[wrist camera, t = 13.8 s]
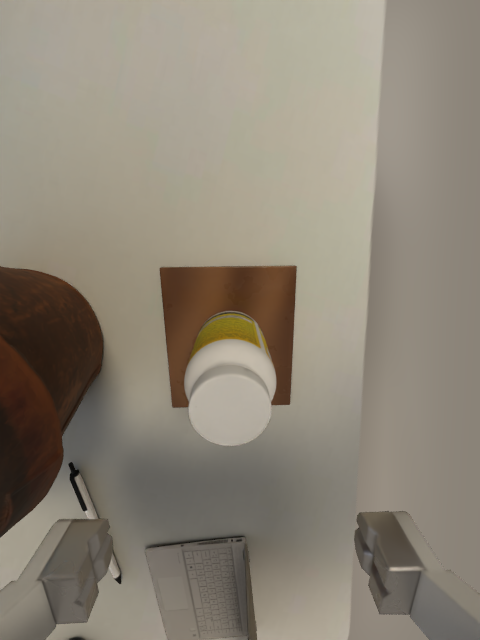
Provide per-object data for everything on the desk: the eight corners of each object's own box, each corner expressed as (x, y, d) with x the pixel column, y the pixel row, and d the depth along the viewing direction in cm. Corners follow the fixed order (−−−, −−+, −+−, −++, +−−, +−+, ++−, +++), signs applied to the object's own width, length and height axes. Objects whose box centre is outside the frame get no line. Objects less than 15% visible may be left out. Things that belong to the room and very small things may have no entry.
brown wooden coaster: (295, 265, 24) (296, 265, 24) (288, 401, 28) (290, 404, 28) (161, 267, 24) (159, 267, 23) (173, 404, 28) (172, 407, 27)
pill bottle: (184, 340, 25) (149, 411, 15) (231, 295, 24) (230, 337, 14) (230, 382, 27) (228, 475, 16) (276, 341, 26) (308, 412, 15)
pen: (76, 459, 29) (70, 468, 28) (125, 578, 35) (121, 589, 34) (68, 461, 29) (62, 469, 28) (118, 580, 35) (114, 590, 34)
